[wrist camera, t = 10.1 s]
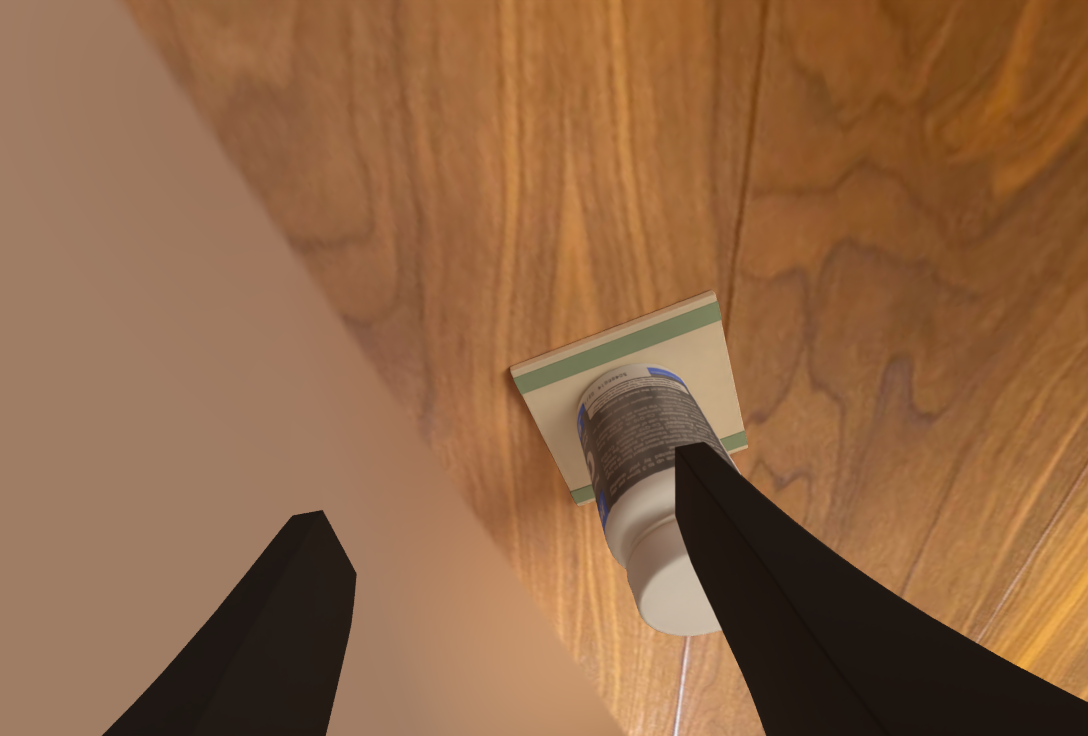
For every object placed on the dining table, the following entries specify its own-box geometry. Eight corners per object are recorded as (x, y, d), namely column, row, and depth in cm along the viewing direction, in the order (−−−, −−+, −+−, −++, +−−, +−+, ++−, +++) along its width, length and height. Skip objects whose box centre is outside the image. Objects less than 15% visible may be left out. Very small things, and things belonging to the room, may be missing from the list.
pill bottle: (550, 407, 21) (588, 599, 14) (649, 337, 19) (748, 507, 12) (617, 471, 23) (680, 664, 16) (710, 411, 22) (823, 592, 15)
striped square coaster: (576, 500, 24) (578, 508, 24) (509, 366, 20) (510, 373, 19) (744, 442, 23) (748, 449, 23) (711, 289, 19) (716, 294, 19)
